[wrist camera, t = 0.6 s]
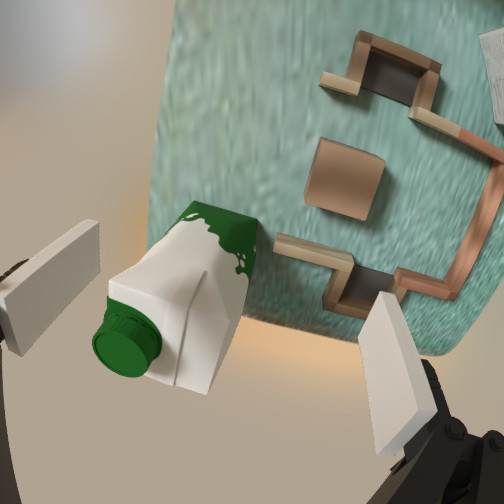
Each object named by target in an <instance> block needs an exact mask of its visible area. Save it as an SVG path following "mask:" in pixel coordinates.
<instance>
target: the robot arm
mask: <svg viewBox="0 0 504 504" xmlns="http://www.w3.org/2000/svg"><path fill="white" fill-rule="evenodd" d="M99 250H100V249H99V222H97V221H93V220H89V219H85V220H84V221H82V222H81V223H79V224H78V225H76V226H75V227H74V228H72V229H71V230H69V231H68V232H66V233H65V234H64V235H62V236H61V237H59V238H58V239H57V240H55V241H54V242H52V243H51V244H50V245H48V246H47V247H46V248H44V249H43V250H41V251H40V252H39V253H37V254H36V255H35V256H33V258H31V259H26V260H24V261H21V262H19V263H17V264H16V265H14V266H13V267H12V268H11V269H10V270H9V271H7V272H5V273H4V274H3V276H0V343H1V342H2V340H4V339H5V341H6V344H7V346H8V349H9V350H10V351H12V352H14V353H15V354H17V355H19V356H21V357H23V356H24V354H25V353H26V352H27V351H28V350H29V349H30V347H31V346H32V345H33V344H34V343H35V342H36V340H37V339H38V338H39V337H40V336H41V335H42V334H43V332H44V331H45V330H46V329H47V328H48V327H49V326H50V324H51V323H52V322H53V321H54V320H55V319H56V318H57V317H58V316H59V315H60V313H62V311H63V310H64V309H65V308H66V307H67V306H68V305H69V304H70V303H71V302H72V301H73V299H75V297H76V296H77V295H78V294H79V293H80V292H81V291H82V290H83V289H84V288H85V287H86V286H87V285H88V284H89V283H90V282H91V281H92V280H93V279H94V278H95V277H96V276H97V275H98V274H99V273H100V251H99ZM358 342H359V347H360V352H361V357H362V362H363V368H364V374H365V380H366V385H367V392H368V397H369V405H370V411H371V418H372V424H373V432H374V440H375V448H376V455H386V456H388V455H389V456H395V455H396V454H397V453H398V452H399V451H400V450H401V449H402V448H403V447H404V453H405V456H404V457H403V458H402V459H401V460H400V461H399V462H398V463H396V464H395V465H394V466H393V467H392V468H391V469H390V470H391V471H392V470H393V471H392V472H391V474H390V475H389V476H388V478H387V479H386V480H385V481H384V483H383V484H382V485H381V486H380V488H379V489H378V490H377V491H376V493H375V494H374V495H373V496H372V498H371V499H370V500H369V501H368V502H367V504H504V436H503V435H502V434H501V433H500V432H498V431H495V430H491V431H488V432H487V433H486V434H485V435H484V436H483V437H482V438H480V437H477V436H474V435H471V434H468V432H467V429H466V427H465V426H464V424H463V423H462V422H461V421H460V420H459V419H457V418H455V417H451V415H450V412H449V408H448V406H447V403H446V400H445V397H444V394H443V391H442V389H441V386H440V383H439V381H438V377H437V375H436V372H435V369H434V368H433V367H432V366H431V364H430V363H429V362H428V360H425V359H420V357H419V354H418V351H417V349H416V346H415V343H414V341H413V338H412V335H411V333H410V330H409V328H408V325H407V323H406V320H405V318H404V315H403V313H402V311H401V308H400V306H399V303H398V301H397V299H396V296H395V294H391V293H387V292H383V291H380V292H379V294H378V296H377V299H376V301H375V303H374V305H373V307H372V309H371V311H370V313H369V315H368V317H367V320H366V322H365V324H364V326H363V328H362V330H361V332H360V333H359V335H358ZM4 410H5V409H4V398H3V381H2V349H1V345H0V504H22V503H21V499H20V496H19V492H18V488H17V483H16V479H15V474H14V470H13V465H12V460H11V454H10V448H9V442H8V435H7V427H6V419H5V411H4Z"/></svg>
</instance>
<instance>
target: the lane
mask: <svg viewBox="0 0 504 504" xmlns="http://www.w3.org/2000/svg"><path fill="white" fill-rule="evenodd" d="M360 85H361V83H358V82H355V81H352V80H349V79H346V78H343V77H340V76H337V75H334V74H331V73H327V72H323V73H322V74H321V78H320V82H319V86H323V87H326V88H329V89H333V90H336V91H339V92H342V93H345V94H348V95H351V96H356V95H358V92H359V89H360ZM408 117H409V118H411V119H414V120H416V121H418V122H421V123H423V124H425V125H427V126H429V127H432V128H434V129H436V130H438V131H440V132H442V133H444V134H446V135H448V136H450V137H452V138H454V139H456V140H458V141H460V142H462V143H464V144H466V145H468V146H470V147H472V148H474V149H476V150H477V151H479V152H481V153H483V154H485V155H486V156H488V157H490V158H492V159H493V164H492V167H491V170H490V173H489V176H488V179H487V181H486V184H485V187H484V190H483V193H482V195H481V198H480V201H479V203H478V206H477V208H476V211H475V213H474V216H473V218H472V221H471V223H470V225H469V228H468V230H467V232H466V235H465V237H464V239H463V241H462V244H461V246H460V248H459V250H458V252H457V254H456V257H455V259H454V261H453V263H452V265H451V267H450V269H449V271H448V273H447V275H446V277H445V279H444V281H443V280H440V279H436V278H433V277H430V276H427V275H423V274H420V273H417V272H414V271H410V270H407V269H404V268H400V267H397V269H396V271H395V273H394V275H393V276H394V278H395V280H396V282H397V284H398V286H399V287H402V288H406V289H410V290H413V291H417V292H420V293H424V294H428V295H431V296H435V297H438V298H442V299H445V300H449V301H453V302H454V300H455V298H456V296H457V294H458V293H459V291H460V289H461V287H462V285H463V283H464V281H465V280H466V278H467V276H468V274H469V272H470V270H471V268H472V266H473V264H474V262H475V260H476V258H477V256H478V253H479V251H480V249H481V247H482V245H483V243H484V240H485V238H486V236H487V234H488V231H489V229H490V227H491V224H492V222H493V220H494V217H495V215H496V212H497V210H498V207H499V204H500V202H501V199H502V196H503V194H504V151H502V150H501V149H499V148H497V147H496V146H494V145H492V144H491V143H489V142H487V141H486V140H484V139H482V138H480V137H479V136H477V135H475V134H473V133H471V132H470V131H468V130H466V129H464V128H462V127H460V126H458V125H456V124H454V123H452V122H450V121H448V120H446V119H444V118H442V117H440V116H438V115H436V114H434V113H432V112H430V111H428V110H426V109H423V108H421V107H415V106H411V107H410V110H409V114H408ZM273 252H275V253H279V254H282V255H286V256H290V257H293V258H297V259H301V260H304V261H308V262H312V263H315V264H319V265H323V266H326V267H330V268H334V269H337V270H341V271H344V272H348V273H351V271H352V268H353V266H354V260H353V257H352V254H351V253H349V252H346V251H342V250H339V249H335V248H332V247H328V246H325V245H321V244H318V243H314V242H311V241H307V240H304V239H300V238H296V237H293V236H289V235H286V234H282V233H278V232H277V234H276V238H275V241H274V246H273Z"/></svg>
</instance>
